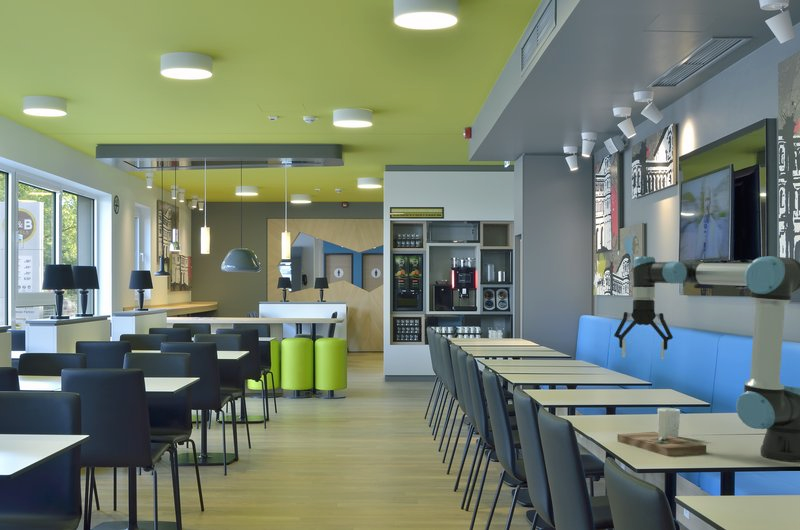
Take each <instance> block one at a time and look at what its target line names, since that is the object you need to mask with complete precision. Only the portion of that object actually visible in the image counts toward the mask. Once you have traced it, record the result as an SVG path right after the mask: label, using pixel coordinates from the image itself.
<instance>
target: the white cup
mask: <svg viewBox="0 0 800 530" xmlns="http://www.w3.org/2000/svg"><path fill="white" fill-rule="evenodd" d="M660 409H668V427H667V435H668V436H672V437H676V438H679V430H680V422H681V421H680V419H681V409H679V408H674V407H658V408H657V429H659V410H660Z"/></svg>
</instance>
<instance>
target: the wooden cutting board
mask: <svg viewBox="0 0 800 530" xmlns="http://www.w3.org/2000/svg"><path fill="white" fill-rule="evenodd" d="M616 440H617V442H619V443H622V444H625V445H629V446H633V447H636V448H639V449H642V450H646V451H649V452H653V453H656V454H659V455H664V456H666V455H667V456H666V457H671V456H670V455H672V456H682V455H683V454H686V455H696V453H699V454H707V444H706V445H705V444H702V443H698V442H694V441H691V440H688V439H684V438H681V437H678V438H676V437H672V436H668V435H667V438H666V439H662V440H661V441H658V432H656V431H647V432H630V433H617V439H616Z"/></svg>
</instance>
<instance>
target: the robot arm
mask: <svg viewBox="0 0 800 530" xmlns="http://www.w3.org/2000/svg"><path fill="white" fill-rule="evenodd" d="M632 270H633V271H632V272H633V279H632V280H633V287H632V298H633V301H632V312H628V311H625V312H623V318H622V320H621V321H620V323H619V325H618V327H617V329H616V331H615V333H614V335H613V336H614V337H615V338H618V339H619V341H618V344H619V345H618V346H619V348H621V350H622V351H621V356H622V358H625V357H626V345H627V344H626V341H627V340H626V338H625V337H626V336H627V335H628V333H629V332H630V331H631V330H632V329H633V328H634V327H635V326H636V325H638V326H642V325H644V326H649V325H650V326H651V327H652V328H653V329H654V331H656V333H657V334H658V336H659V337H661V339H663V340H661V341H660V343H661V352H660V353H661V354H660V356H661V357H660V358H661V360H664V359H665V351H667V350H668V345H669V344H668V341H670V340H672V339H673V337H674V336H673V334H672V332H671V330H670V328H669V326H668V323H667V322H666V320H665V315H664V313H662V312H660V313H655V311H656V310H655V305H656V304H655V302H656V301H655V300H654V299H655V295H656V294H655V289H656V288H655V287H656V285H655V284H685V285H686V284H689V285H719V286H739V287H741V286H743V287H744V286H745V287H747V288H748V289H749V290H750V299H751V301H752V302H753V303H754V317H753V318H754V319H753V320H754V321H753V334H752V345H751V346H752V347H751V361H750V362H751V364H750V375H749V377H750V378H749V379H748V380H747V381H745V382H744V387H743V393H742V394H740V396H739V397H738V398H737V399H736V402H735V409H736V414H737V417H739V419H740V420H741V421H742V423H743V424H745V426H747V427H749V428H752V429H754V430H755V429H757V430H759V429H760V430H764V429H765V430H766V432H765V433H764V434H765V435H764V438H763V441H762V444H761V445H760V456H762V457H764V458H768V459H772V460H777V459H778V460H777V461H785V460H787V461H788V462H800V387H798V386H797V387H796V386H790V385H789V386H788V385H783V384H782V383H781V381H780V380H781V368H782V367H781V365H782V353H783V352H782V351H783V337H784V325H785V309H786V306H787V305H788V304H789V303H790V302H791V299H792V294H794V293H797V292H798V291H800V260H797V259H795V258H793V257H784V256H783V257H782V256H772V255H770V256H769V255H768V256H759V257H757V258H755V259H754V260H752V262H750V263H732V262H731V263H727V262H726V263H723V262H722V263H721V262H720V263H719V262H716V263H715V262H714V263H713V262H712V263H711V262H708V263H707V262H704V263H703V262H702V263H701V262H681V261H659V262H658V261H656V259H655V257H654V256H636V257H634V258H633V266H632ZM630 317H631V318H632V319H633V321H632V322H631V323H630V324H629V326H627V328H626V329H625V330H624V331H623V332H622V330H623V328H624V326H625V324H626V323H627V320H628V319H630ZM656 318H657V319H658V320H660V323H661V326H662V327H663V329H664V331H665V333H666V334H665V333H664V332H663V331H662V330H661V328H660V327H659V326H658V325H657V324H656V322H655V321H654V320H655V319H656ZM621 332H622V333H621ZM620 333H621V334H620Z"/></svg>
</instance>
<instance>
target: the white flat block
mask: <svg viewBox="0 0 800 530" xmlns="http://www.w3.org/2000/svg"><path fill="white" fill-rule="evenodd" d="M667 427H668V409H660V410H659V429H658V428H657V429H658V432H657V433H658V441H661V440H662V439H666V438H667Z"/></svg>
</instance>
